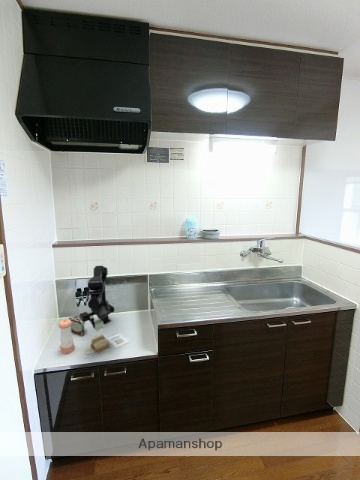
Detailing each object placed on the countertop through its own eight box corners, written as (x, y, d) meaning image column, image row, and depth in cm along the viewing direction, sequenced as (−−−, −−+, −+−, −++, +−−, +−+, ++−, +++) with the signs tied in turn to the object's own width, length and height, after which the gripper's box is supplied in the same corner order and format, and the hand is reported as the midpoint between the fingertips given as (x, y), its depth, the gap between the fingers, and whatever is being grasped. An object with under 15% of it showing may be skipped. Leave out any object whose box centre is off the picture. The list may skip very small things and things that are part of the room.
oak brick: (91, 343, 147) (91, 338, 146) (102, 339, 151) (101, 334, 150) (96, 349, 142) (95, 343, 141) (106, 344, 146) (106, 339, 146)
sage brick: (92, 327, 145) (92, 321, 144) (100, 324, 148) (99, 318, 147) (96, 330, 142) (95, 324, 141) (103, 328, 145) (103, 321, 144)
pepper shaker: (70, 344, 149) (67, 314, 145) (76, 349, 145) (74, 319, 141) (58, 350, 144) (55, 319, 140) (64, 355, 139) (61, 324, 135)
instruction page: (106, 338, 155) (106, 338, 155) (119, 333, 161) (119, 332, 161) (115, 347, 146) (115, 347, 146) (129, 341, 152) (129, 341, 152)
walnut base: (90, 347, 147) (90, 343, 147) (103, 341, 153) (103, 338, 152) (97, 354, 142) (96, 350, 141) (109, 348, 147) (109, 344, 147)
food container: (90, 332, 162) (89, 317, 160) (83, 337, 156) (82, 322, 154) (76, 327, 167) (75, 313, 165) (68, 332, 162) (67, 318, 159)
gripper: (85, 311, 129) (87, 338, 133) (118, 301, 142) (119, 326, 145) (77, 304, 138) (79, 329, 141) (109, 294, 150) (110, 318, 153)
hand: (98, 326), depth 145 cm, fingers closed on sage brick, 4 cm apart
